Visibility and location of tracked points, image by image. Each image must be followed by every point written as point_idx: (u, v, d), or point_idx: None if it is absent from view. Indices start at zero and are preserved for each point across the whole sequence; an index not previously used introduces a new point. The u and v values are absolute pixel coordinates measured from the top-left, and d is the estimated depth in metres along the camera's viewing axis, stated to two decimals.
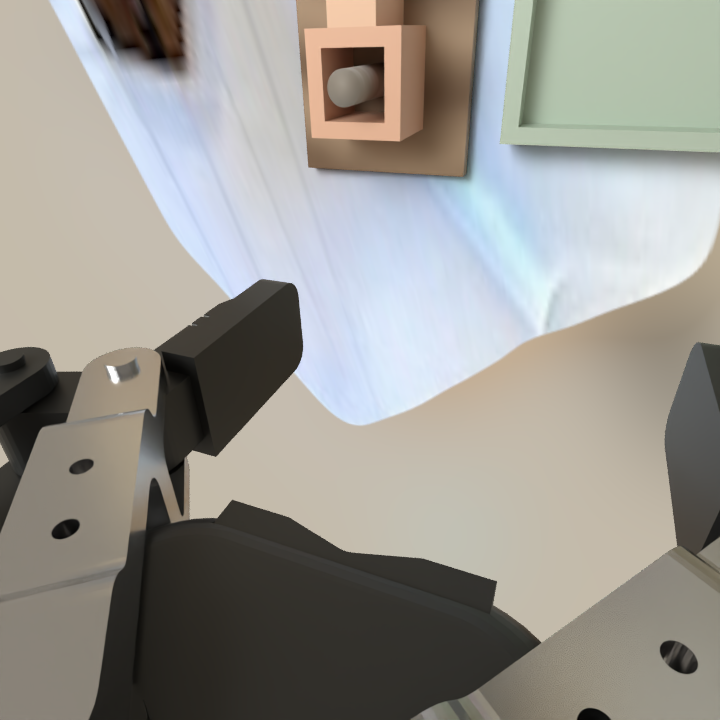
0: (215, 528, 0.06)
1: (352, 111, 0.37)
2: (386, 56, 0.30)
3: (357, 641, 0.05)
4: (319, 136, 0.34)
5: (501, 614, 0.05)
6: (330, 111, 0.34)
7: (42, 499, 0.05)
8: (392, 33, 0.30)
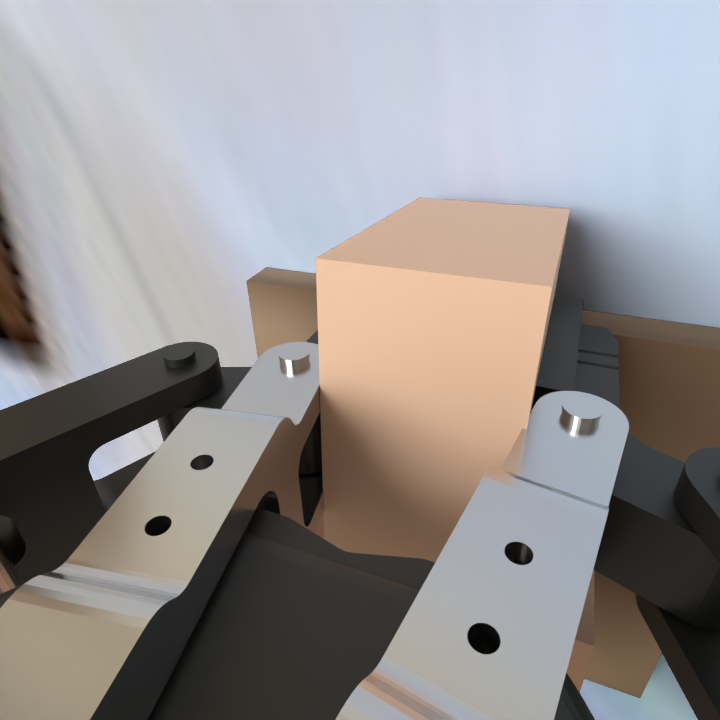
0: None
1: None
2: None
3: (357, 641, 0.05)
4: None
5: None
6: None
7: (155, 485, 0.06)
8: None
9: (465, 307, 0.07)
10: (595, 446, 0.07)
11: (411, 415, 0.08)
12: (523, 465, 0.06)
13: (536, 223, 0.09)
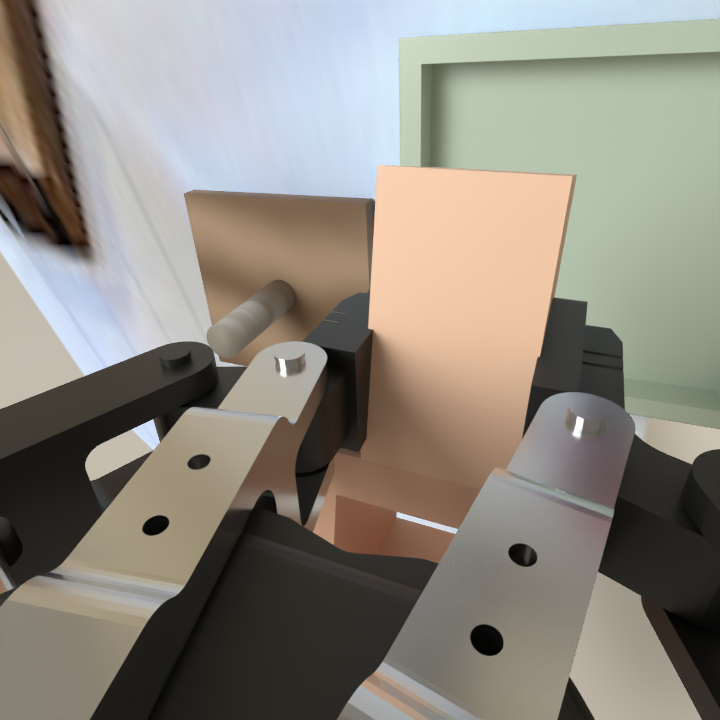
0: None
1: (391, 524, 0.16)
2: None
3: (357, 641, 0.05)
4: None
5: None
6: None
7: (153, 484, 0.06)
8: None
9: (501, 199, 0.08)
10: (601, 448, 0.07)
11: (449, 303, 0.09)
12: (529, 467, 0.06)
13: None
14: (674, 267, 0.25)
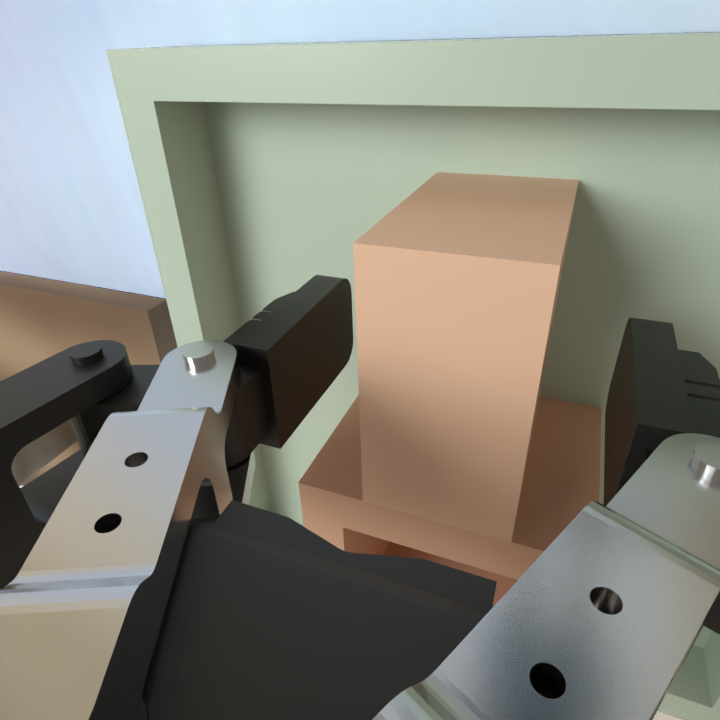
0: (215, 528, 0.06)
1: None
2: None
3: (357, 641, 0.05)
4: None
5: None
6: None
7: (94, 488, 0.06)
8: None
9: (485, 283, 0.08)
10: None
11: (438, 376, 0.09)
12: (667, 529, 0.06)
13: (547, 197, 0.10)
14: None
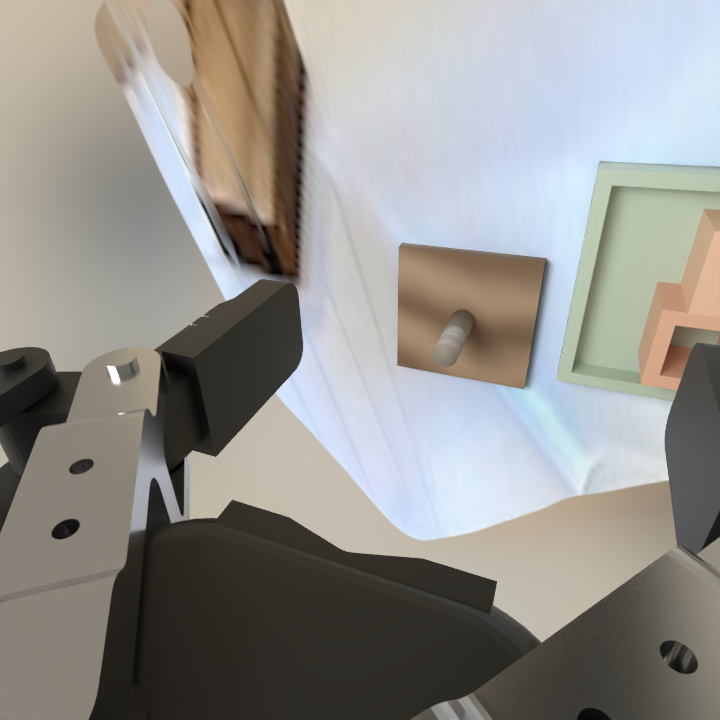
0: (215, 528, 0.06)
1: None
2: None
3: (357, 641, 0.05)
4: (649, 384, 0.38)
5: (501, 614, 0.05)
6: None
7: (42, 499, 0.05)
8: None
9: None
10: None
11: None
12: None
13: None
14: None
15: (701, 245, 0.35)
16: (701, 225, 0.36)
